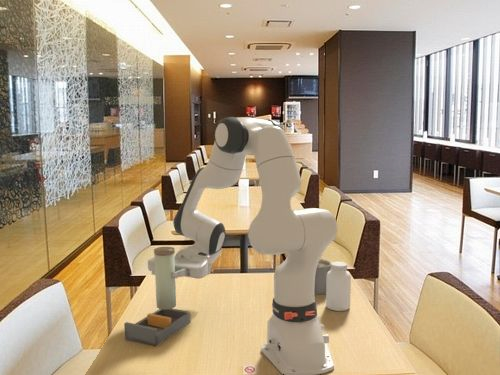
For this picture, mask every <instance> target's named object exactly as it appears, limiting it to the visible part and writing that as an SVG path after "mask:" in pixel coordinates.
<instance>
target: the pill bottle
mask: <svg viewBox="0 0 500 375" xmlns="http://www.w3.org/2000/svg"><path fill="white" fill-rule="evenodd" d="M330 263H331V270H330V271H328V273H327V276H326V295H325V296H326V297H325V299H326V300H325V305H326V308H327V309H328V310H332V311H334V312H335V311H336V312H344V311H347V310H350V309H351V286H352V285H351V284H352V283H351V282H352V279H351V278H352V275H351V273H350V272H349V271H348V270H347V269H348V263H346V262H344V261H333V262H330Z"/></svg>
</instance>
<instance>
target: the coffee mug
mask: <svg viewBox="0 0 500 375" xmlns="http://www.w3.org/2000/svg"><path fill="white" fill-rule="evenodd" d="M331 263H332V262H331V261H329V260H327V259H322V258H320V260H319V263H318V266H317V269H316V274H315V289H314V295H325V294H326V276H327V273H328V271H330V270H331Z"/></svg>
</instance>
